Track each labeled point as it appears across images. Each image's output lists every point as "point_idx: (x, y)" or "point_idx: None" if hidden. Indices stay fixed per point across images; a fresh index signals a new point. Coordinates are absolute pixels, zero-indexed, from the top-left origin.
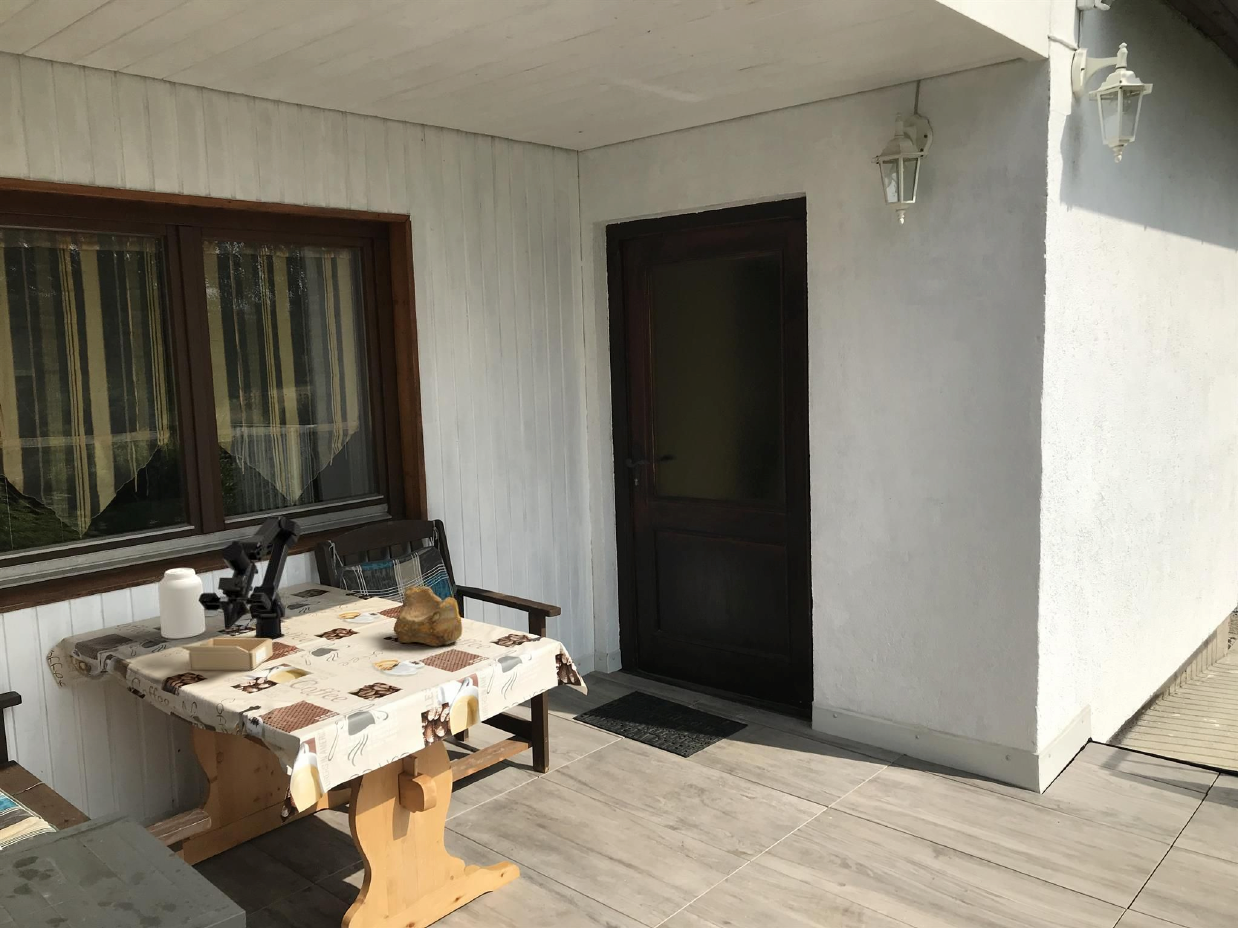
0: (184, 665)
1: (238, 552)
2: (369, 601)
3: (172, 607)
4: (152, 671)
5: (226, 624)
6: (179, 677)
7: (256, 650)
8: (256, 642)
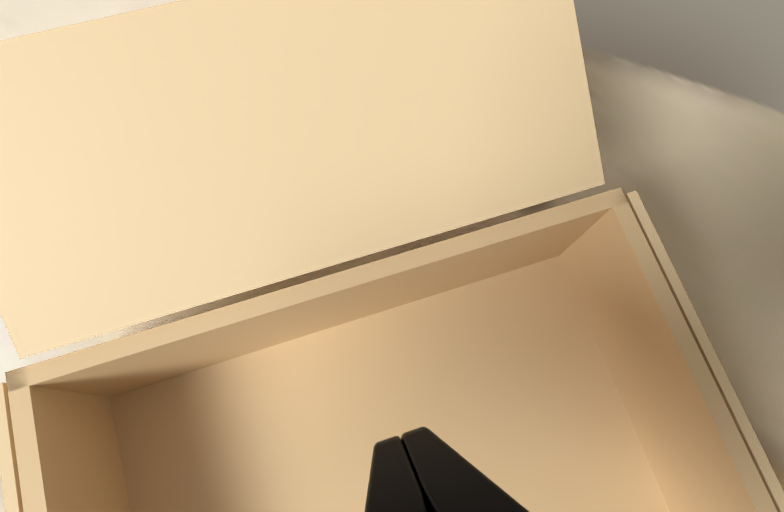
0: (696, 306)
1: None
2: None
3: None
4: (770, 138)
5: (420, 464)
6: None
7: (7, 490)
8: None
